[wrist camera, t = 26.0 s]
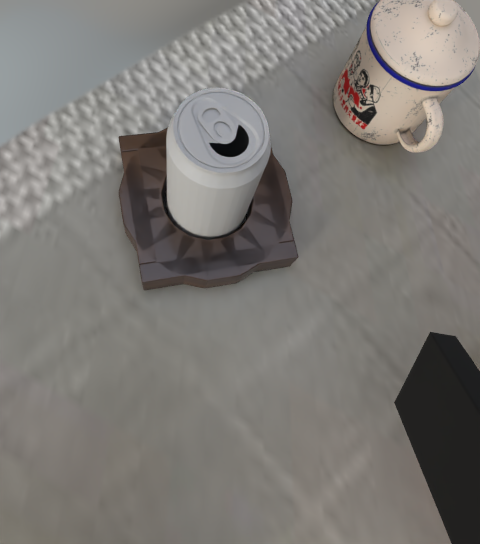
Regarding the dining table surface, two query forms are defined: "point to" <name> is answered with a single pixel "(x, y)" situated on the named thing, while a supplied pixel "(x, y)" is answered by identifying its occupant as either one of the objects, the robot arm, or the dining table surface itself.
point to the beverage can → (214, 161)
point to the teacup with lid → (405, 71)
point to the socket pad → (191, 250)
